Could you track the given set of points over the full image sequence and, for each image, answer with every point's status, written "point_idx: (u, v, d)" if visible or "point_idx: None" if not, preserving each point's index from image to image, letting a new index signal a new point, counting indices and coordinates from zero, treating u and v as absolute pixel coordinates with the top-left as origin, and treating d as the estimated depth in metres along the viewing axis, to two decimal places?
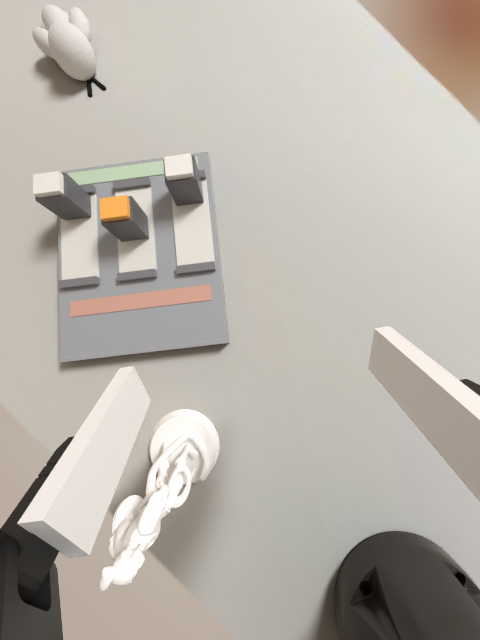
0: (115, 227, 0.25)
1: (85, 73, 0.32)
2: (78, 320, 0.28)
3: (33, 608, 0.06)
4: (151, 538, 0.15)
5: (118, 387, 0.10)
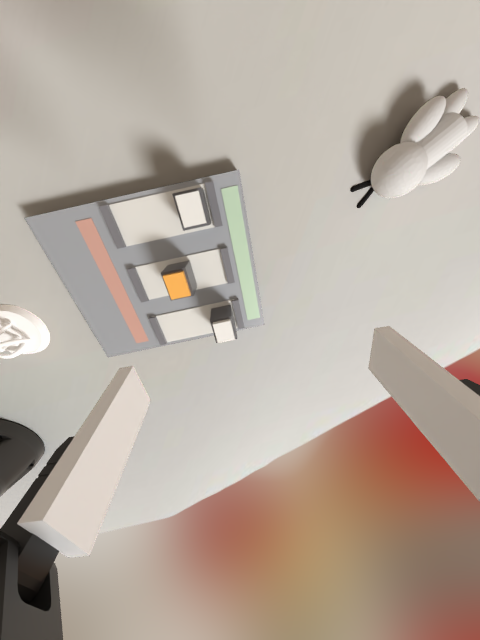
0: None
1: (373, 187, 0.28)
2: (75, 231, 0.27)
3: (33, 608, 0.06)
4: None
5: (118, 387, 0.10)
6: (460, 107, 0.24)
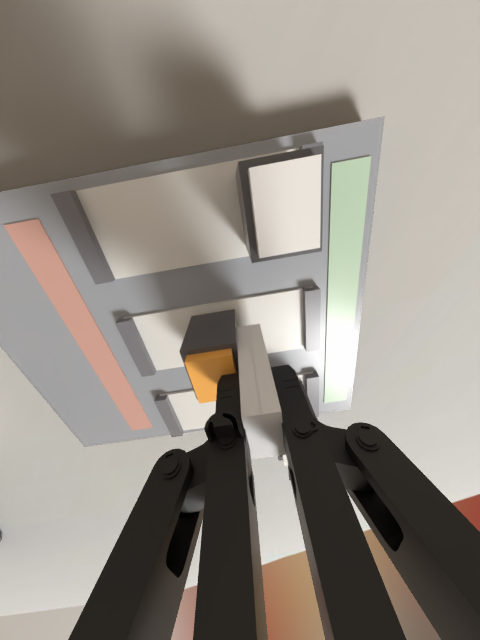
0: None
1: None
2: (7, 245, 0.13)
3: (252, 500, 0.07)
4: None
5: (247, 338, 0.12)
6: None
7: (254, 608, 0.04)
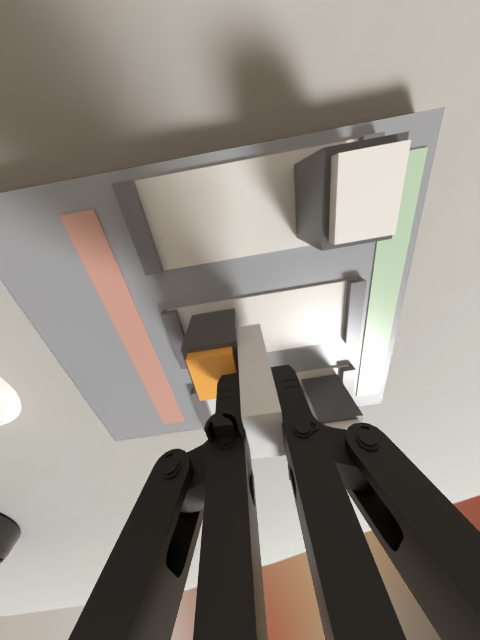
0: None
1: None
2: (60, 236, 0.13)
3: (252, 500, 0.07)
4: None
5: (247, 338, 0.12)
6: None
7: (254, 608, 0.04)
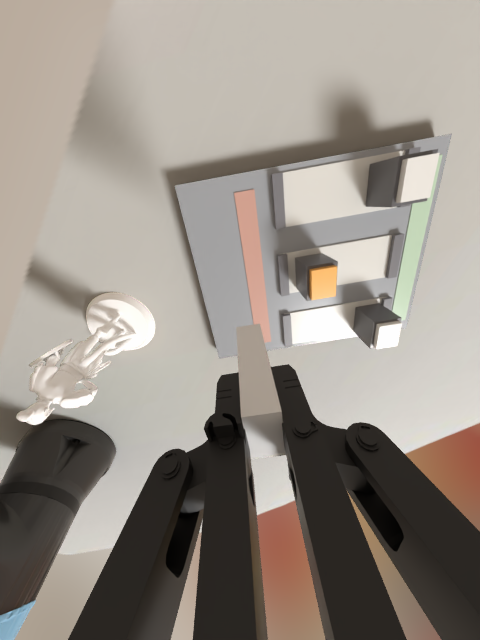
0: (303, 275, 0.22)
1: None
2: (230, 205, 0.22)
3: (252, 500, 0.07)
4: (58, 402, 0.19)
5: (247, 338, 0.12)
6: None
7: (254, 608, 0.04)
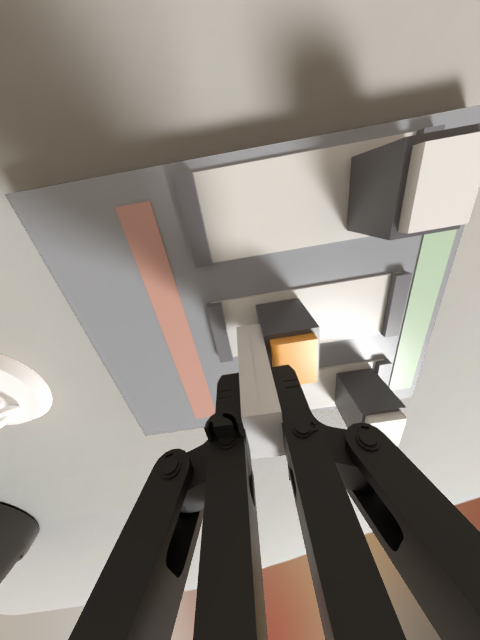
0: None
1: None
2: (113, 227, 0.13)
3: (252, 500, 0.07)
4: None
5: (247, 339, 0.12)
6: None
7: (254, 608, 0.04)
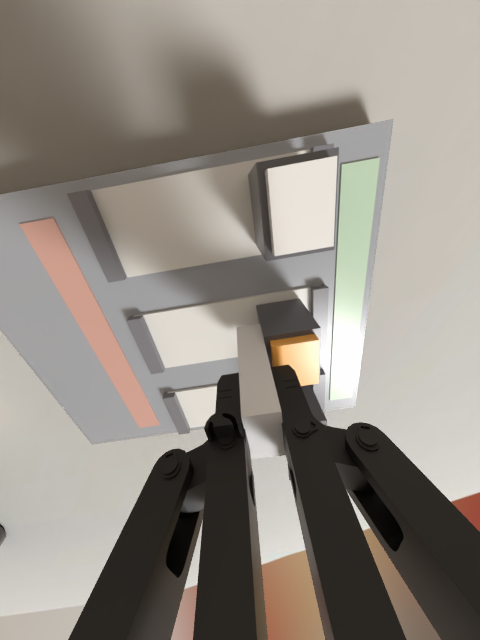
0: None
1: None
2: (22, 243, 0.13)
3: (252, 500, 0.07)
4: None
5: (247, 338, 0.12)
6: None
7: (254, 608, 0.04)
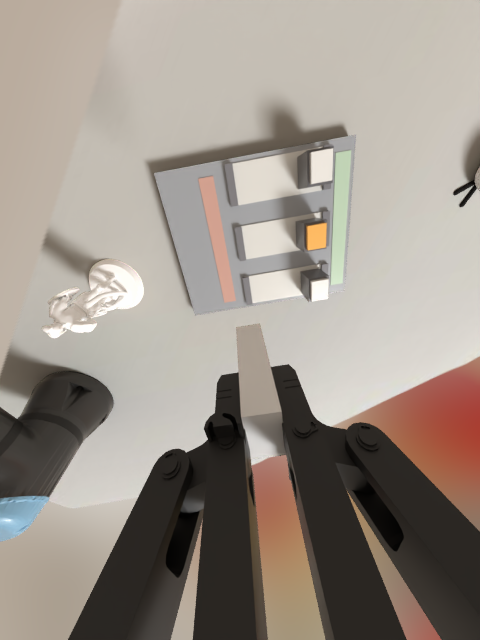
0: (302, 232, 0.29)
1: (478, 188, 0.31)
2: (196, 188, 0.29)
3: (252, 500, 0.07)
4: (69, 328, 0.27)
5: (247, 339, 0.12)
6: None
7: (254, 608, 0.04)
